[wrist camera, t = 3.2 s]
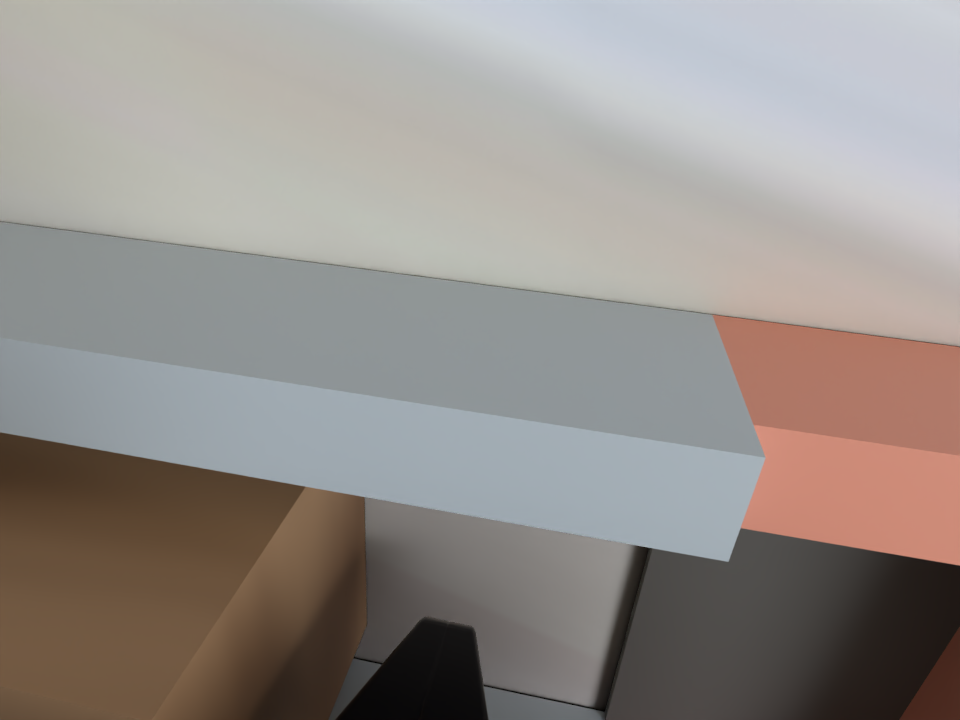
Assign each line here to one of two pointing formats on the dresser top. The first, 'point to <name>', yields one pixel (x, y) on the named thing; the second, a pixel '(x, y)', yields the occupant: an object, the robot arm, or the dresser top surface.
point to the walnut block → (171, 589)
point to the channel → (382, 392)
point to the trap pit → (818, 547)
